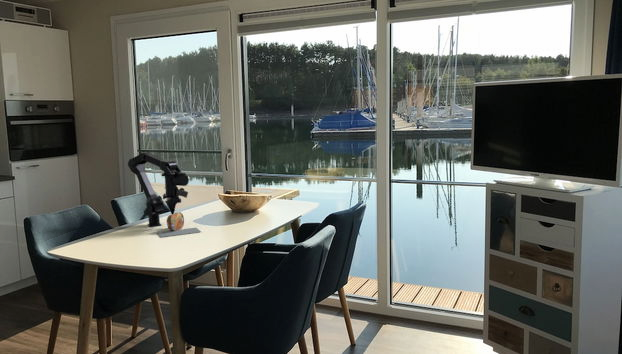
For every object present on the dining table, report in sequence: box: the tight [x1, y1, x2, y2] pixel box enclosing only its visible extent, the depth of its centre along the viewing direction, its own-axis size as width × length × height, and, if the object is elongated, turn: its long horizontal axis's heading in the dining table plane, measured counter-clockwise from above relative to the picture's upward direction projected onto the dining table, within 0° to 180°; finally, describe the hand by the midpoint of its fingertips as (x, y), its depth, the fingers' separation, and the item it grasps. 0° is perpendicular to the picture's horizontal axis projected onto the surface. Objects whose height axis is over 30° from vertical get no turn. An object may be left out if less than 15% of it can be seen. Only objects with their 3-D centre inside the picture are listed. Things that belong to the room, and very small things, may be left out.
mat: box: [156, 227, 202, 238], centre depth 271 cm, size 11×20×1 cm, turn 116°
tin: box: [166, 211, 185, 231], centre depth 277 cm, size 15×3×8 cm, turn 168°
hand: (172, 214), depth 282 cm, fingers closed
